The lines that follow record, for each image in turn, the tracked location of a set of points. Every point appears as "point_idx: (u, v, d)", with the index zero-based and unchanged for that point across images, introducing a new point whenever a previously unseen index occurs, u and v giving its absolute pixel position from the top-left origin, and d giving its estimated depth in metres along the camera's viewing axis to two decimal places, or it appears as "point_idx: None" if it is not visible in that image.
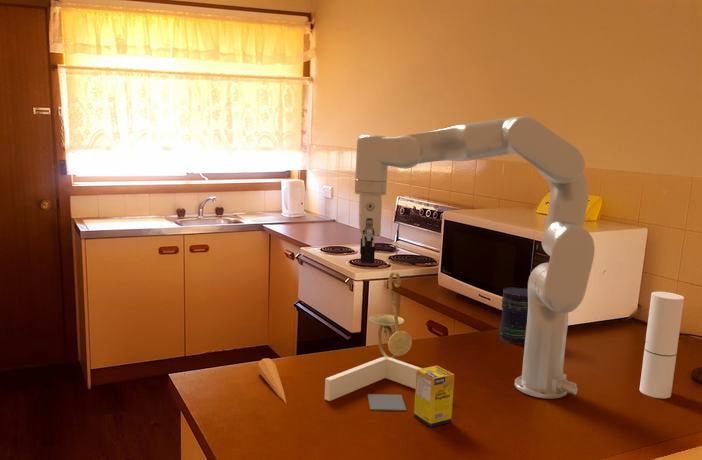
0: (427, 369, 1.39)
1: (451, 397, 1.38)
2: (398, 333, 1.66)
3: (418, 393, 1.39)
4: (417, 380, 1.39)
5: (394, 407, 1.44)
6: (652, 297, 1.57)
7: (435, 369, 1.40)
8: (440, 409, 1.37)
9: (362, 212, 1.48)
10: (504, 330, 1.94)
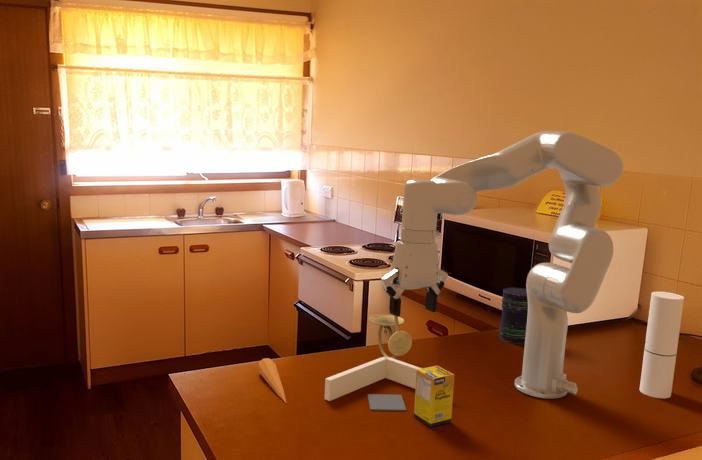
0: (427, 369, 1.39)
1: (451, 397, 1.38)
2: (398, 333, 1.66)
3: (418, 393, 1.39)
4: (417, 380, 1.39)
5: (394, 407, 1.44)
6: (652, 297, 1.57)
7: (435, 368, 1.40)
8: (440, 409, 1.36)
9: None
10: (504, 330, 1.94)
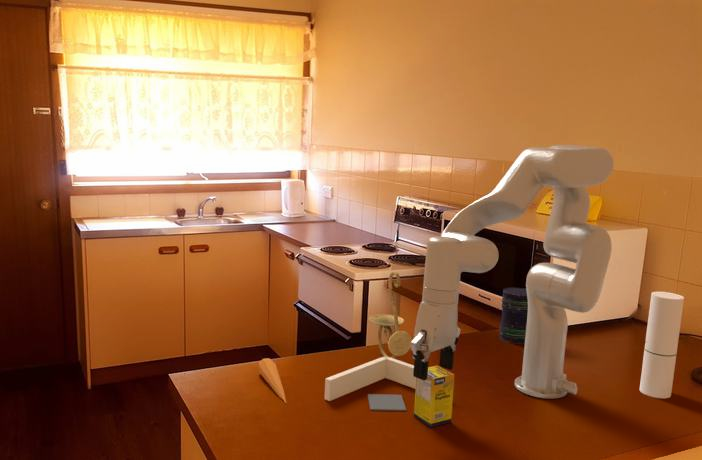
0: None
1: (451, 397, 1.38)
2: (398, 333, 1.66)
3: (418, 393, 1.39)
4: (417, 380, 1.39)
5: (394, 407, 1.44)
6: (652, 297, 1.57)
7: (435, 369, 1.40)
8: (440, 409, 1.36)
9: None
10: (504, 330, 1.94)
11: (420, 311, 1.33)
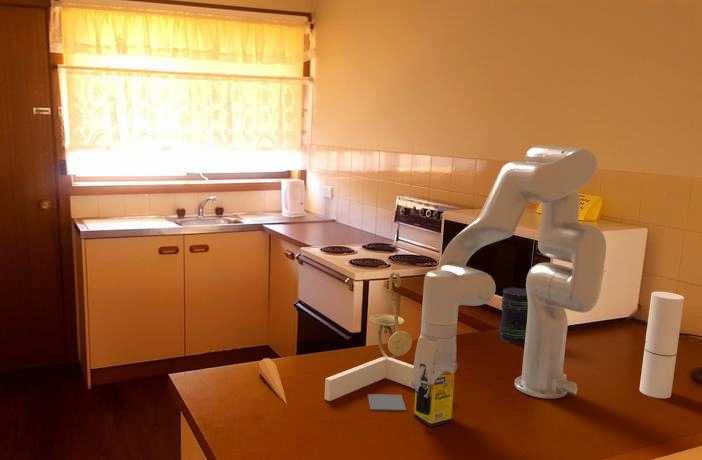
0: None
1: (451, 397, 1.38)
2: (398, 333, 1.66)
3: None
4: None
5: (394, 407, 1.44)
6: (652, 297, 1.57)
7: None
8: (440, 408, 1.36)
9: None
10: (504, 330, 1.94)
11: (419, 345, 1.35)
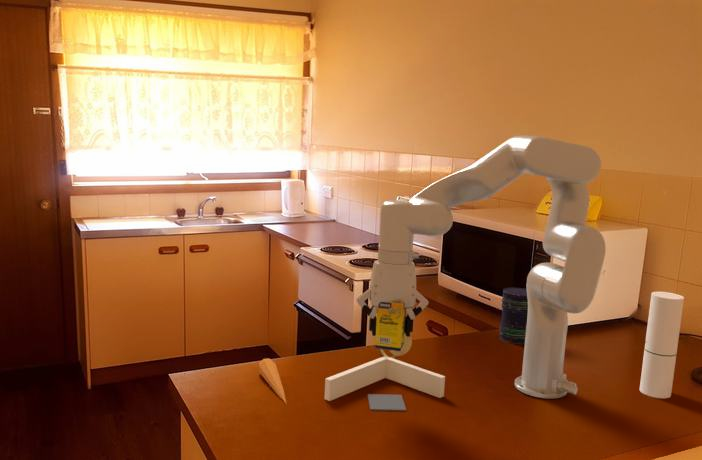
0: None
1: (399, 326, 1.40)
2: None
3: None
4: None
5: (394, 407, 1.44)
6: (652, 297, 1.57)
7: None
8: (386, 333, 1.41)
9: (415, 283, 1.41)
10: (504, 330, 1.94)
11: None
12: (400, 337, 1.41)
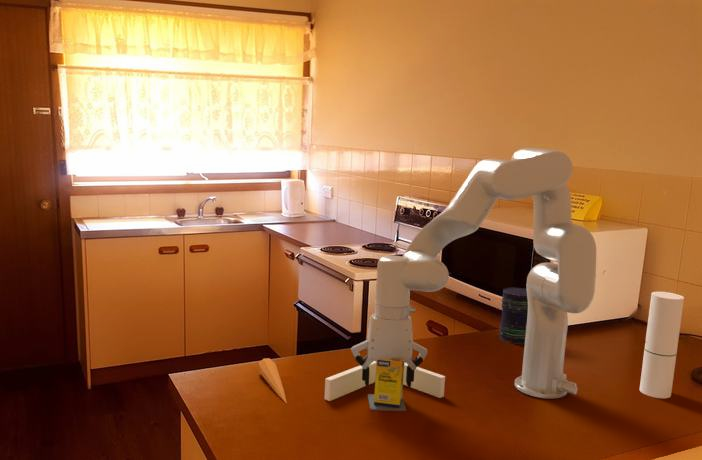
0: None
1: (398, 384, 1.43)
2: None
3: None
4: None
5: (394, 407, 1.44)
6: (652, 297, 1.57)
7: None
8: (385, 391, 1.44)
9: (412, 337, 1.43)
10: (504, 330, 1.94)
11: None
12: (399, 394, 1.43)
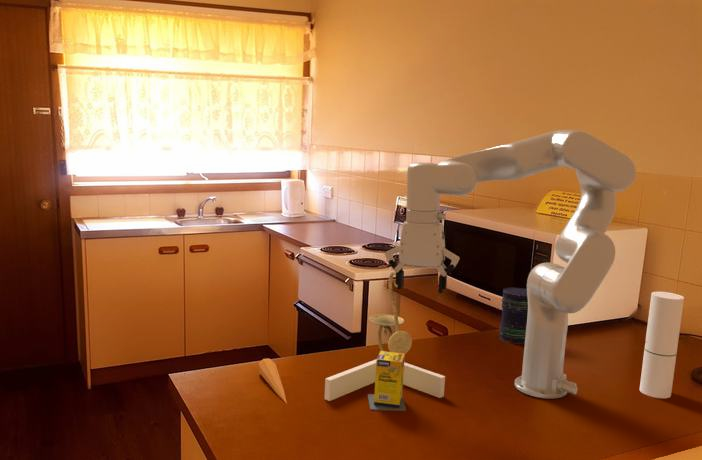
0: (388, 353, 1.47)
1: (398, 384, 1.43)
2: (398, 333, 1.66)
3: None
4: None
5: (394, 407, 1.44)
6: (652, 297, 1.57)
7: (395, 354, 1.46)
8: (385, 391, 1.44)
9: (440, 242, 1.44)
10: (504, 330, 1.94)
11: None
12: (399, 394, 1.43)
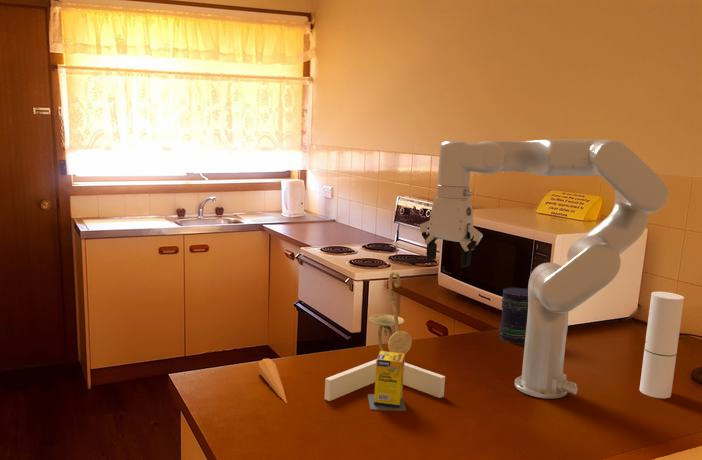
0: (388, 353, 1.47)
1: (398, 384, 1.43)
2: (398, 333, 1.66)
3: None
4: None
5: (394, 407, 1.44)
6: (652, 297, 1.57)
7: (395, 354, 1.46)
8: (385, 391, 1.44)
9: (464, 218, 1.50)
10: (504, 330, 1.94)
11: None
12: (399, 394, 1.43)
